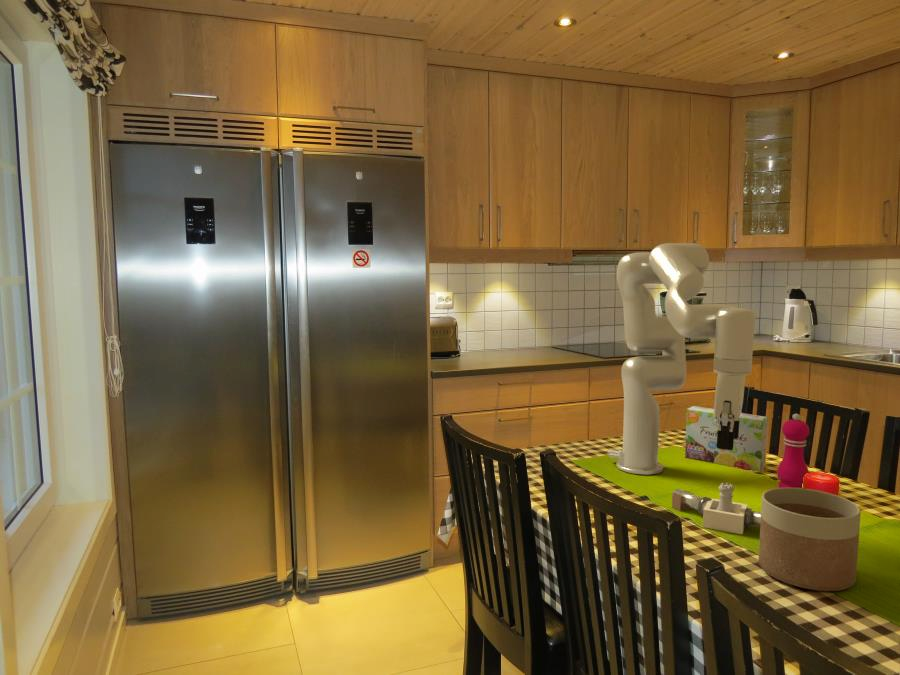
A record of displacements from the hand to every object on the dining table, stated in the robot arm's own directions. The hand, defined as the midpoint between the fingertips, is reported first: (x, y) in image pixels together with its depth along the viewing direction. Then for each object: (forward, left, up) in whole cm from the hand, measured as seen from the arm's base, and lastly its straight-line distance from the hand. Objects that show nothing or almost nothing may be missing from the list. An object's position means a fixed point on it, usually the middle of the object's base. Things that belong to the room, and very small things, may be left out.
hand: (727, 443), depth 143 cm
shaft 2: (+9, 0, -18) cm, 20 cm away
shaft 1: (-8, +4, -18) cm, 20 cm away
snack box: (-6, +48, -19) cm, 52 cm away
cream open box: (0, 0, -18) cm, 18 cm away
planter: (+16, -17, -19) cm, 30 cm away
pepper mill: (+12, +31, -19) cm, 38 cm away
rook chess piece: (0, 0, -17) cm, 17 cm away
